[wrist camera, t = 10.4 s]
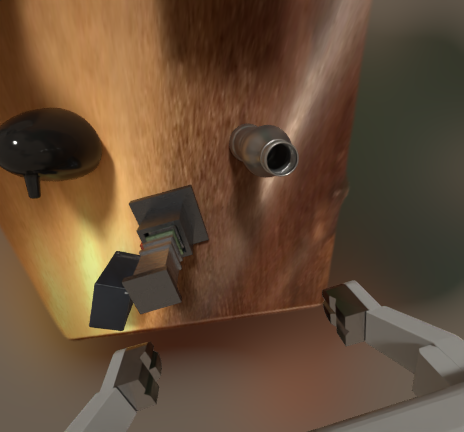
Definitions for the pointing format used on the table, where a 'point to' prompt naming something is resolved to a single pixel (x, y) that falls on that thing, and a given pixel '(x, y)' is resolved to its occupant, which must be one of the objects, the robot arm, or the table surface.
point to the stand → (171, 216)
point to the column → (157, 271)
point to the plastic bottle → (264, 150)
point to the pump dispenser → (48, 147)
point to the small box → (113, 293)
